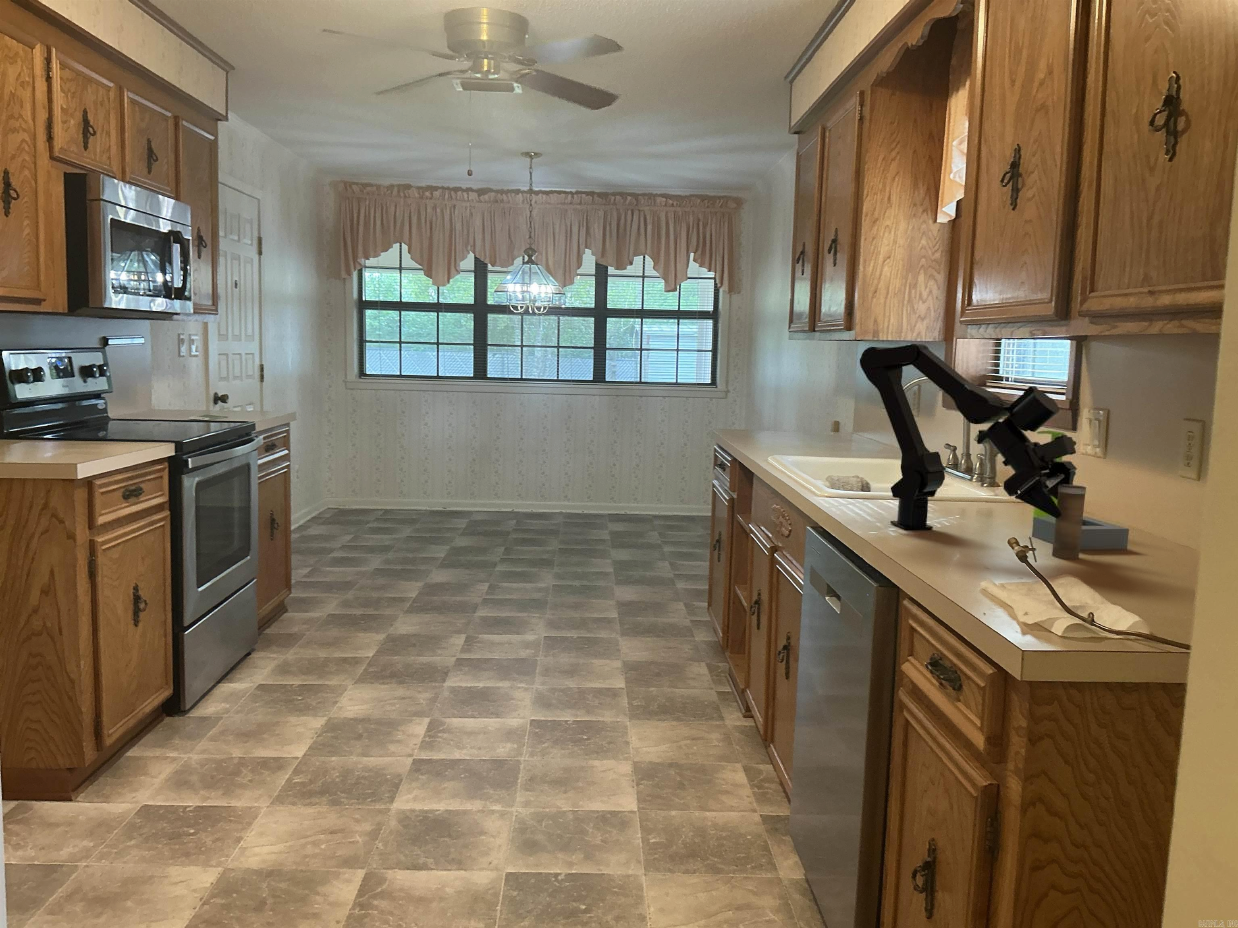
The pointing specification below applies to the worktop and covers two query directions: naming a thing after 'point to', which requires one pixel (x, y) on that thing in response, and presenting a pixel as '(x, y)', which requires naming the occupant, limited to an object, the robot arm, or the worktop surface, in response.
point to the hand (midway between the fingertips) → (1070, 514)
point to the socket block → (1086, 533)
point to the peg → (1069, 521)
